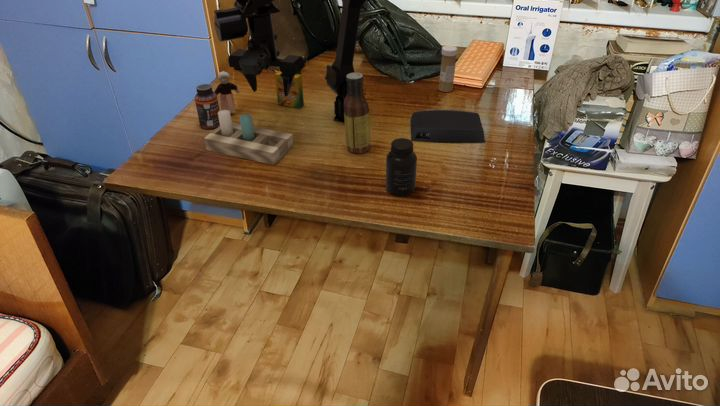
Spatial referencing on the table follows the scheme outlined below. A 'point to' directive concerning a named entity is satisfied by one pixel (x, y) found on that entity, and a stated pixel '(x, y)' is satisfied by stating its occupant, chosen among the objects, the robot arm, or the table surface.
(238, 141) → the hole block
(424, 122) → the external hard drive
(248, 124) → the teal peg
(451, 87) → the sprinkles bottle
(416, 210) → the table surface
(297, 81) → the crayon box
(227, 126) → the cream peg
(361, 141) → the sauce bottle
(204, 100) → the supplement bottle
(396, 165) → the supplement bottle
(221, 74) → the grandmother figurine
